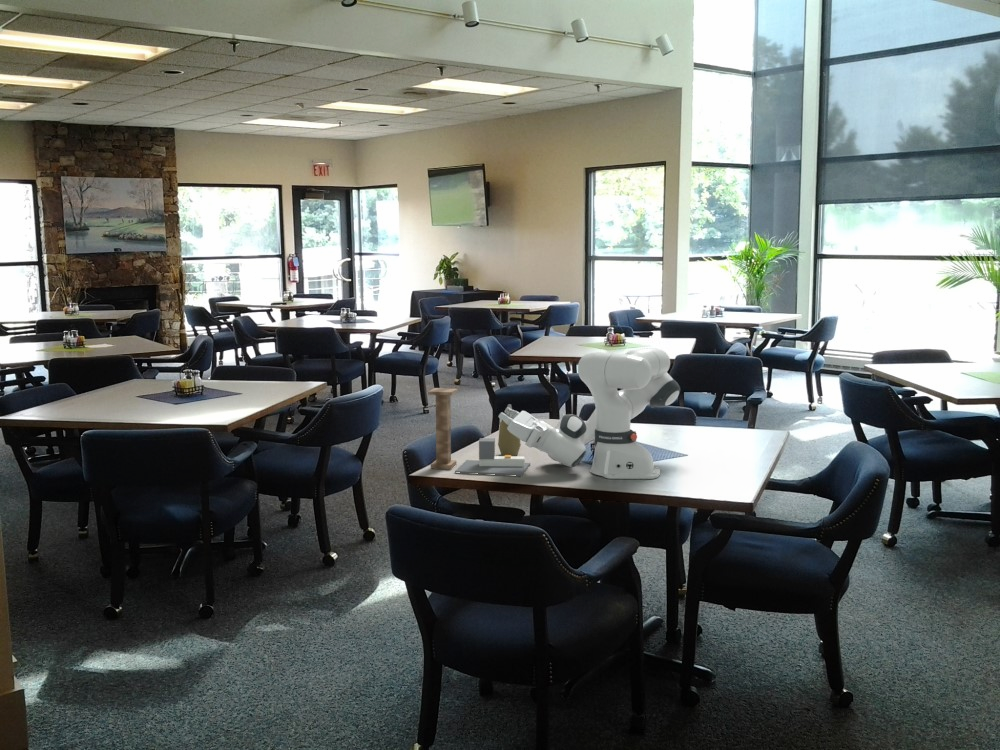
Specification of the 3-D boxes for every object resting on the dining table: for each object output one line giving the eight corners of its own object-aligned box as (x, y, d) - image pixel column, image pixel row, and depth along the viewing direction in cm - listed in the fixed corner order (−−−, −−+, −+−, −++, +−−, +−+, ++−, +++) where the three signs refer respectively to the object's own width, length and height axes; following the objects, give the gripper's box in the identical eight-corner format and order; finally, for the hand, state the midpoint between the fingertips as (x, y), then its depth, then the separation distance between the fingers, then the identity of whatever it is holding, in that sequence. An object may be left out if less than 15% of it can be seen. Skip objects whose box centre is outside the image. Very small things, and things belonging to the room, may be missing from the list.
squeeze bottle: (501, 458, 325) (501, 407, 322) (495, 453, 333) (495, 403, 330) (523, 456, 327) (523, 406, 325) (517, 451, 335) (517, 402, 332)
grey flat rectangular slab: (530, 465, 314) (530, 462, 314) (521, 476, 299) (521, 474, 299) (466, 462, 319) (466, 459, 319) (454, 473, 303) (454, 470, 303)
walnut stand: (458, 464, 315) (457, 388, 312) (452, 470, 308) (451, 392, 304) (435, 463, 317) (434, 387, 313) (428, 468, 309) (427, 391, 306)
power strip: (524, 463, 314) (524, 438, 312) (524, 466, 309) (524, 441, 307) (480, 462, 314) (480, 438, 313) (479, 466, 309) (479, 441, 308)
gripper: (548, 420, 313) (513, 398, 315) (538, 431, 293) (501, 409, 295) (539, 435, 315) (504, 414, 316) (528, 448, 295) (491, 425, 296)
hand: (502, 411), depth 305 cm, fingers open, 8 cm apart
